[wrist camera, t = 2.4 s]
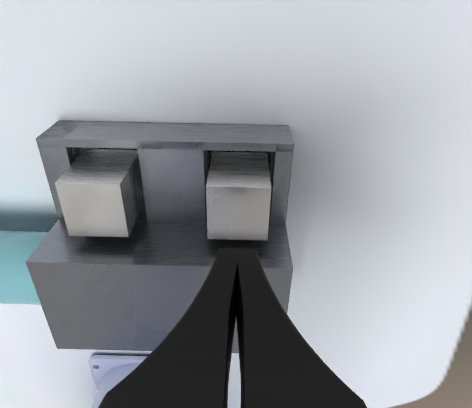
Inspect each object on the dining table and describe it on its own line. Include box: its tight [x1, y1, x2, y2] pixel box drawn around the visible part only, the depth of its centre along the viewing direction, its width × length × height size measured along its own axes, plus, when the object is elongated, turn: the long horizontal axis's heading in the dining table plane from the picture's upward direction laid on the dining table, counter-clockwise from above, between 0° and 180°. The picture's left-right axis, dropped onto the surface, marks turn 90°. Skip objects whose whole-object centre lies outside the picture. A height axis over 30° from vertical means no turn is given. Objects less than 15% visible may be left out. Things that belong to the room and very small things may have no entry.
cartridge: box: [0, 231, 48, 304], centre depth 21 cm, size 13×4×4 cm, turn 89°
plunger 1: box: [55, 149, 145, 237], centre depth 18 cm, size 3×3×4 cm
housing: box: [26, 121, 294, 353], centre depth 19 cm, size 10×12×6 cm
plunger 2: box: [206, 152, 271, 240], centre depth 18 cm, size 3×3×4 cm
